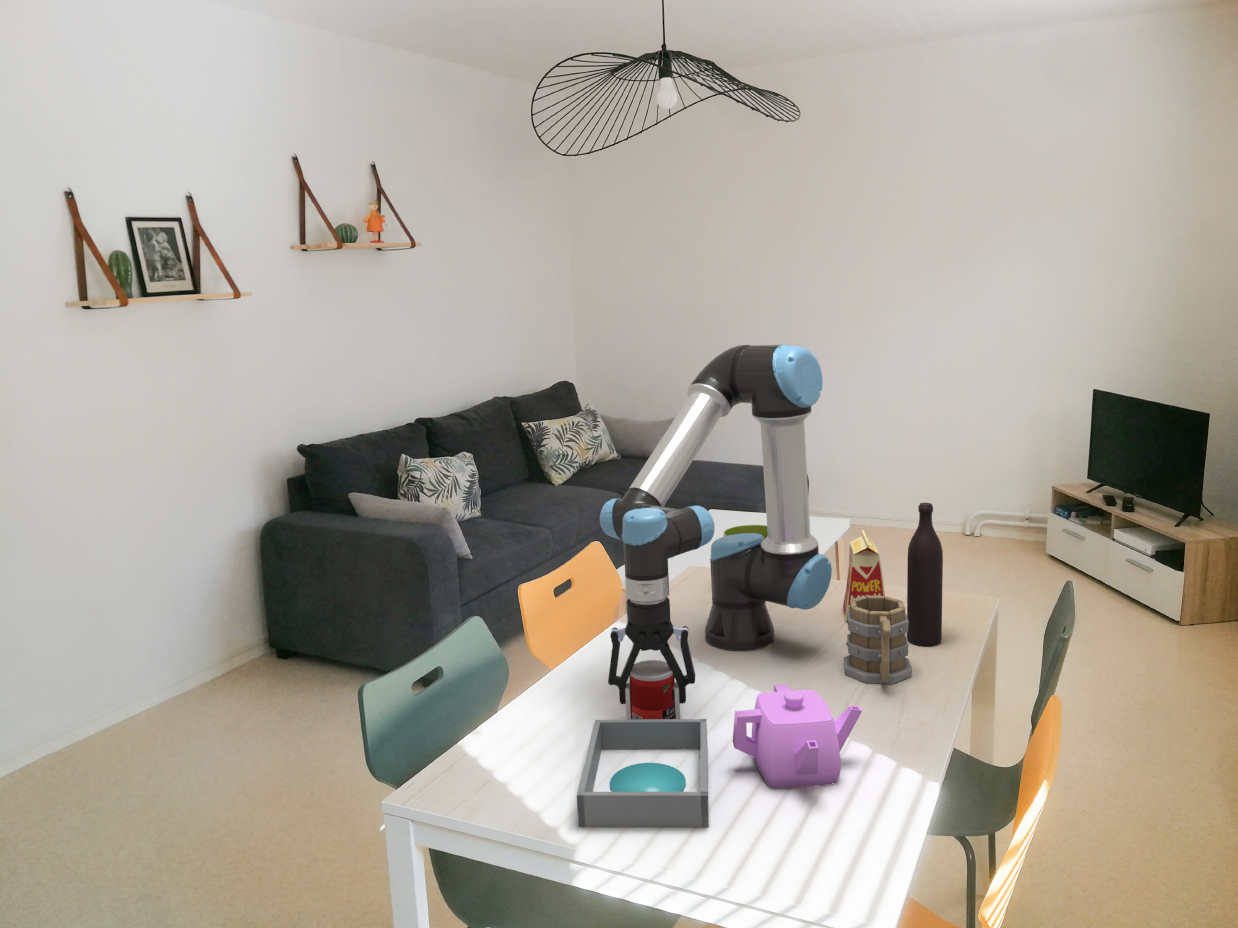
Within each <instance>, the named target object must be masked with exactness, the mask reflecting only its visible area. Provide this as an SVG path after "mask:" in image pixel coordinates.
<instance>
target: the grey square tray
mask: <svg viewBox="0 0 1238 928" xmlns="http://www.w3.org/2000/svg"><path fill="white" fill-rule="evenodd" d="M707 726H708V724H707V718H680V719H632V720H627V719H594V723H593V726H592V730H591V735H590V738H589V743H588V746H587V750H586V755H585V760H584V764H583V768H582V771H581V776H580V780H579V784H578V788H577V792H576V804H577V821H578V823H577V824H578V827H587V828H588V827H592V828H593V827H595V828H597V827H599V828H600V827H601V828H602V827H606V828H607V827H609V828H610V827H611V828H612V827H613V828H616V827H619V828H620V827H625V828H626V827H629V828H630V827H631V828H639V827H640V828H644V827H645V828H647V827H648V828H677V827H678V828H709V825H710V824H709V823H710V820H709V818H710V817H709V816H710V815H709V765H708V762H709V759H708V757H709V756H708V727H707ZM602 750H603V751H605V750H607V751H609V750H611V751H612V750H613V751H615V750H617V751H619V750H624V751H625V750H628V751H629V750H700V791H684V790H685V788H686V784H687V783H686V781H687V780H686V777H685V775H684V774H683V772H682V771H680V770H679V769H677V768H676V767H675V766H671V765H669V764H664V763H658V762H642V763H641V762H640V763H635V764H630V765H628V766H624V767H623V768H621V769H619V770H617V771H616V772H615V773H614V774H613V775H612V777H611V778H610V781H609V788H610V791H594V787H595V784H596V783H595V782H596V778H597V774H598V770H599V769H598V768H599V763H600V760H601V755H602Z"/></svg>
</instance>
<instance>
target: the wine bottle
mask: <svg viewBox="0 0 1238 928" xmlns="http://www.w3.org/2000/svg"><path fill="white" fill-rule="evenodd" d="M918 512H919V518H918V526H917V527H916V530H915V531H914V533H913V535H912V537H911V539H910V541H909V544H908V549H907V569H906V570H907V575H906V576H907V580H906V581H907V582H906V584H907V586H906V587H907V588H906V590H907V593H906V597H907V598H906V615H907V619H908V621H909V624H908V632H907V633H906V639H907V642H909V643H911V644H913V645H916V646H922V647H932V646H933V647H934V646H937V645H939V644H940V643H941V642H942V639H943V638H942V637H943V636H942V630H943V629H942V628H943V578H944V577H943V572H944V571H943V570H944V566H943V565H944V559H943V558H944V555H943V554H944V553H943V552H944V551H943V546H942V543H941V541H940V538H939V536H938V534H937V533H936V530H935V529H934V526H933V512H934V506H933V504H932V503H931V502H920V503H919V505H918Z"/></svg>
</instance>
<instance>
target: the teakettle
mask: <svg viewBox="0 0 1238 928" xmlns="http://www.w3.org/2000/svg"><path fill="white" fill-rule="evenodd" d="M789 687H790V686H788V684H787V683H781V684H773V691H767V692H760V693H758V694H757V695H756V699H755V705H754V709H745V710H736V711H734V719H733V731H732V745H733V748H734V749H735V750H737V751H740V752H742V753H744V754H747V755H749V756H751V757H754V760H755V763H756V766H757V768H758V770H759V772H760V775H761V776H762V778H763V779H764V781H765V782H766V783H767V785H768V786H769V787H771V788H773V789H788V788H803V787H804V788H806V787H807V786H808V787H816V786H815V785H819V786H827V785H826V784H828V785H833V784H832V783H834V784H836V782H837V783H838V780H839V778H840V774H841V768H842V767H841V751H842V749H843V747H844V745H846V744H845V743H846V741H847V740H848V738H849V737H850V734H851V733H852V731H853V729H854V727H855V726H856V724H857V722H858V720H859V718H860V716H861V714H862V712H863V710H862V708H861V707H860V706H856V705H848V707H846V709H845V710H844V711H843V712H842V713H841V714H840V715H839V716H838V717H837V718H836V719H835V720H834V716H833V713H832V712H831V709H830V708H829V706H828V704H827V702H826V701H825V700H824V699H823V697H822V696H821V695H820V694H819V693H818V692H817V691H816V690H814V689H796V690H795V689H793V690H791V689H790V688H789ZM748 723H749V724H750V723H751V725H752V726H751V737H750V736H749V735H747V733H748V732H747V724H748Z"/></svg>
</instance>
